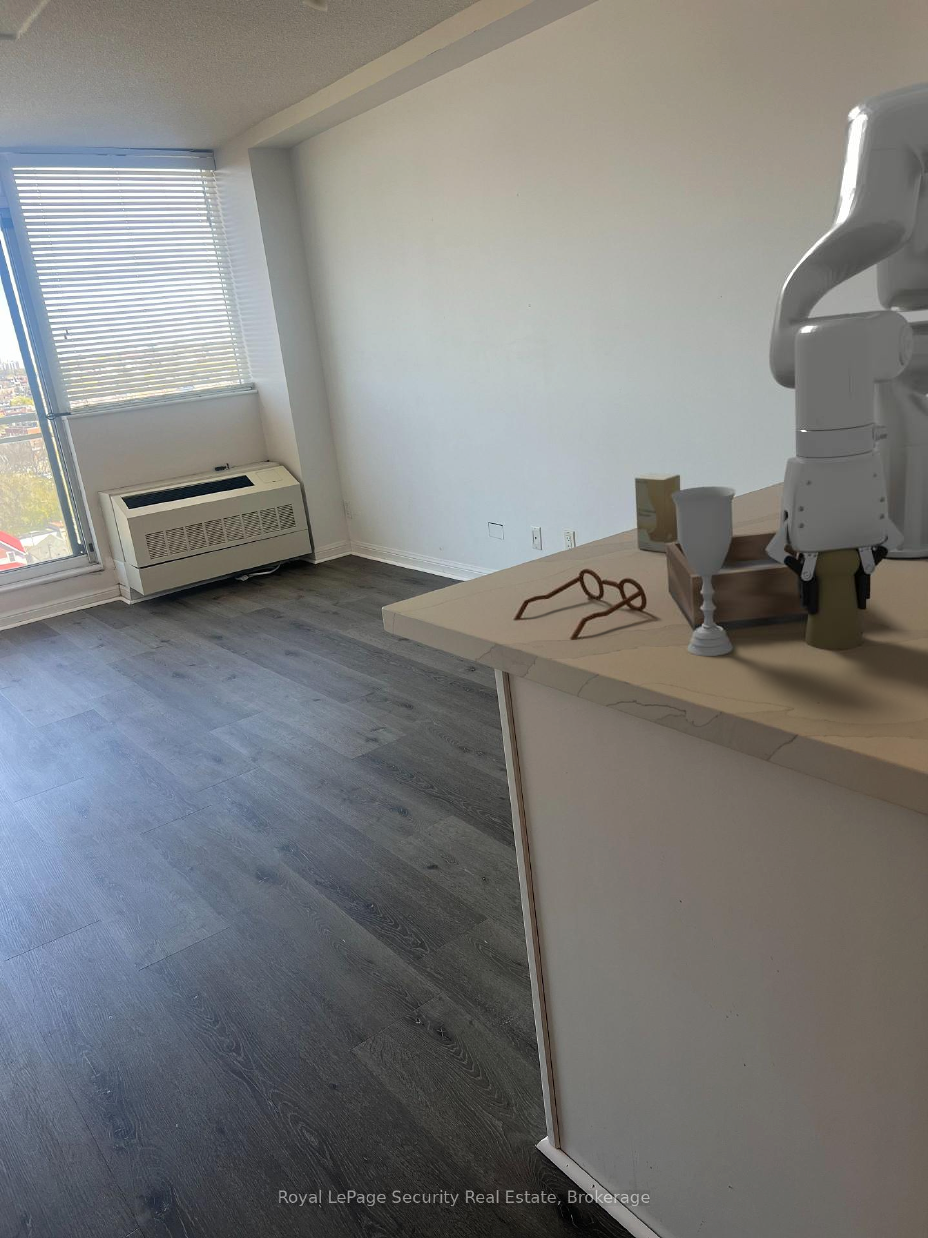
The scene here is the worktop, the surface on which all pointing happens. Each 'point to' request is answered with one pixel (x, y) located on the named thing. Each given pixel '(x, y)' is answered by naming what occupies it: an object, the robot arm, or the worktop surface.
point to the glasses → (594, 597)
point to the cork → (836, 602)
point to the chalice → (706, 553)
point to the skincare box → (656, 510)
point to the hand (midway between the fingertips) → (833, 607)
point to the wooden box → (738, 586)
